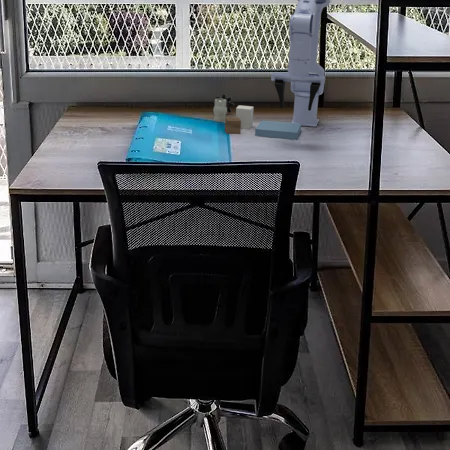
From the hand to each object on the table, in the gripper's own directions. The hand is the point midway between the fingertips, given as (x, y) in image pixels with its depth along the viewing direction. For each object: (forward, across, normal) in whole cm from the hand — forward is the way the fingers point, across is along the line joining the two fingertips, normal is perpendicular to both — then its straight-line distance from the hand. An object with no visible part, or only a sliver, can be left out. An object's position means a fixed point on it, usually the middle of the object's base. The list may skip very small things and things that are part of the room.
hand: (295, 108), depth 228 cm
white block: (+10, -17, +16) cm, 25 cm away
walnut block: (+10, -19, +8) cm, 23 cm away
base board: (+10, -6, +12) cm, 16 cm away
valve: (+10, -26, +26) cm, 38 cm away
